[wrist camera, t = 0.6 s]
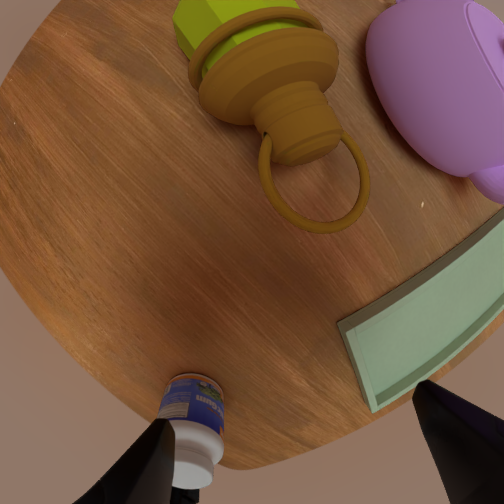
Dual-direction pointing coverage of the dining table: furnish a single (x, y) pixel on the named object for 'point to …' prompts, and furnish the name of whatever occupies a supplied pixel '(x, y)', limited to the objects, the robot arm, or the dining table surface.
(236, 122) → the plumb bob
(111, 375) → the dining table surface
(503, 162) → the teapot
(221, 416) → the pill bottle
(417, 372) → the tray
